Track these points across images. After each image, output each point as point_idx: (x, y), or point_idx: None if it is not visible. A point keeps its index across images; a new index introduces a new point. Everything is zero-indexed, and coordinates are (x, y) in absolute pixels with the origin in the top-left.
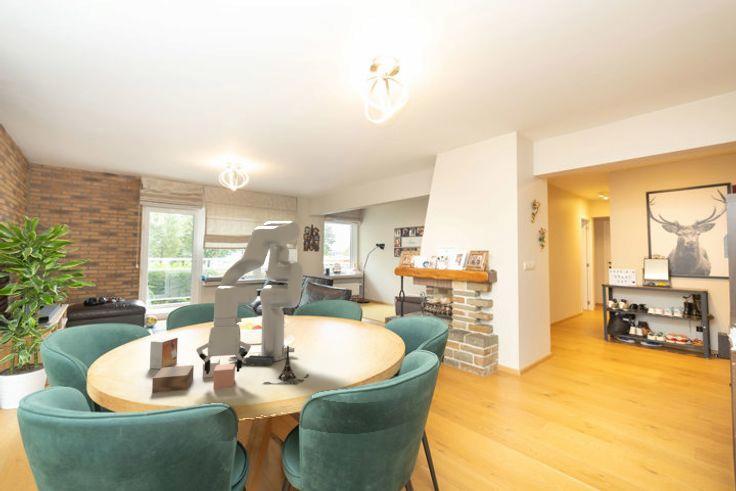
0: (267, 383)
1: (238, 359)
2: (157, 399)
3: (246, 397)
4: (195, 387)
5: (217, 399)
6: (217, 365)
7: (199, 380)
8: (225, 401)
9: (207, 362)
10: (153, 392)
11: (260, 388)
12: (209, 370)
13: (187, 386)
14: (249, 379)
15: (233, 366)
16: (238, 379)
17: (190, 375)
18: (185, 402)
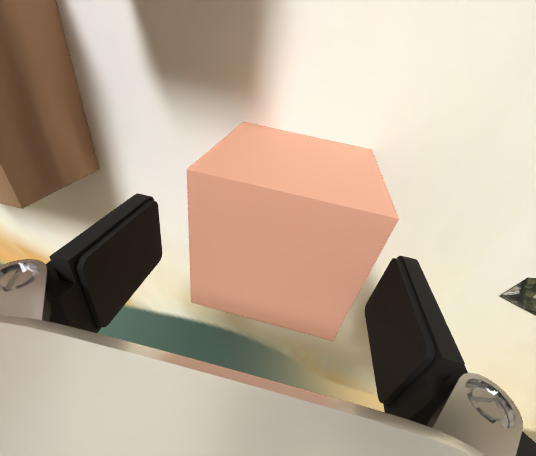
0: (532, 302)
1: (404, 408)
2: (32, 223)
3: (359, 358)
4: (135, 162)
5: (256, 324)
6: (197, 193)
7: (113, 23)
8: (283, 346)
9: (89, 331)
10: None
11: (454, 328)
12: (152, 229)
13: (87, 156)
14: (476, 188)
15: (352, 291)
16: (402, 149)
17: (16, 69)
18: (150, 292)
